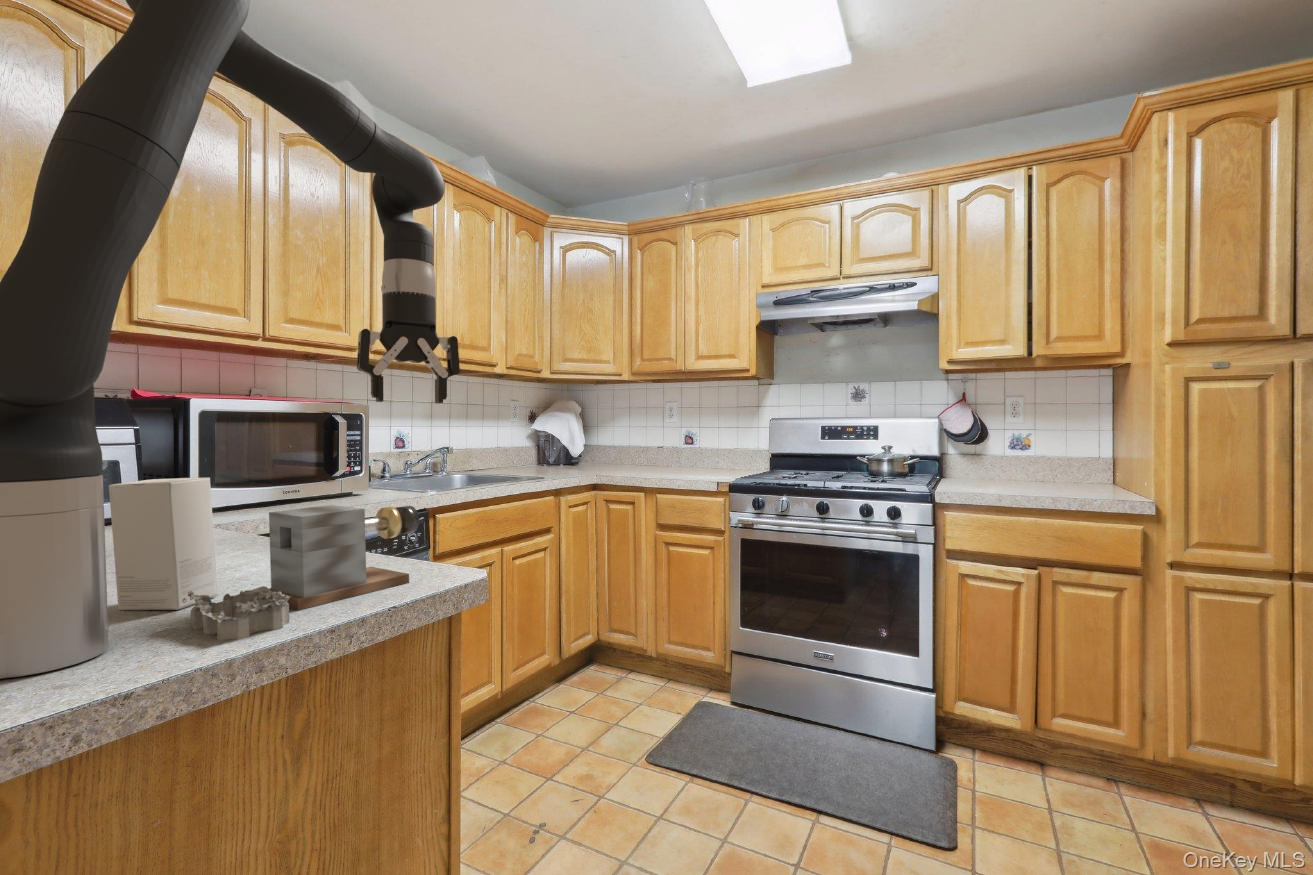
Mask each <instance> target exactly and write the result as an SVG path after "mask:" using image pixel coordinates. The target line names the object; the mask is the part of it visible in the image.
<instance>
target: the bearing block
mask: <svg viewBox="0 0 1313 875" xmlns="http://www.w3.org/2000/svg"><path fill="white" fill-rule="evenodd" d="M365 511H366V510H365V508H363V507H353V506H343V505H335V504H329V505H328V504H327V505H320V506H312V507H304V508H303V507H301V508H296V509H295V508H294V509H293V508H292V509H285V510H277V511H269V512H268V524H269V528H268V529H269V531H268V532H269V560H270V561H269V562H270V588H269V587H268V589H269V590H271V591H272V592H274V591H275V592H278V591H279V592H281V593H282V595H283V594H284V595H287V596H289V597H290V596H291V597H290V598H289V600H288V601H287V603H288V604H289V609H291V610H292V609H293V610H296V611H301V610H306V609H309V608H312V607H317V606H320V605H321V606H322V605H326V604H329V603H334V602H338V601H342V600H345V599H349V598H352V597H356V596H360V595H365V594H369V593H373V592H377V591H380V590H385V589H389V588H393V587H397V586H400V585H405V584H408V583H410V574H409V573H406V572H402V571H397V570H390V569H387V568H381V567H375V566H368V567H367V556H366V553H367V552H366V548H367V547H366V534H365V519H366V517H365V513H366V512H365Z"/></svg>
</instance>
